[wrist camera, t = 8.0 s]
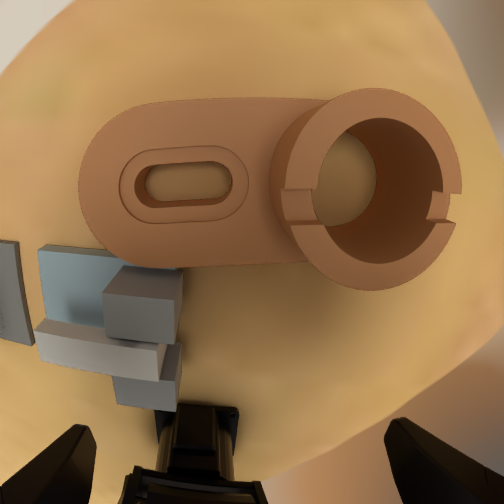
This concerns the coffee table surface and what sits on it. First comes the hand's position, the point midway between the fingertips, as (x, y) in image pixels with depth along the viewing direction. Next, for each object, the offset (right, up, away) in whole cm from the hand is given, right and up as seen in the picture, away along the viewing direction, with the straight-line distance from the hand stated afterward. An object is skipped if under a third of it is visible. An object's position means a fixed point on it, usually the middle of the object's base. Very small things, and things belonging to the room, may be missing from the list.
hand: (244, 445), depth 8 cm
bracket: (0, +10, +10) cm, 14 cm away
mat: (-20, +3, +10) cm, 23 cm away
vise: (-9, +2, +11) cm, 15 cm away
